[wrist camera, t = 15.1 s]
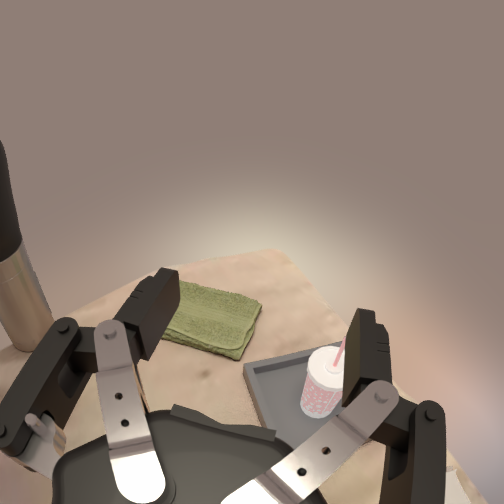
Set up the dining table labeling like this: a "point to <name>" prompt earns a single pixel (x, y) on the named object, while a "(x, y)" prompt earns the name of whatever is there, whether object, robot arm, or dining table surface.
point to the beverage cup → (323, 381)
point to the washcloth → (213, 320)
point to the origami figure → (454, 489)
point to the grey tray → (285, 396)
